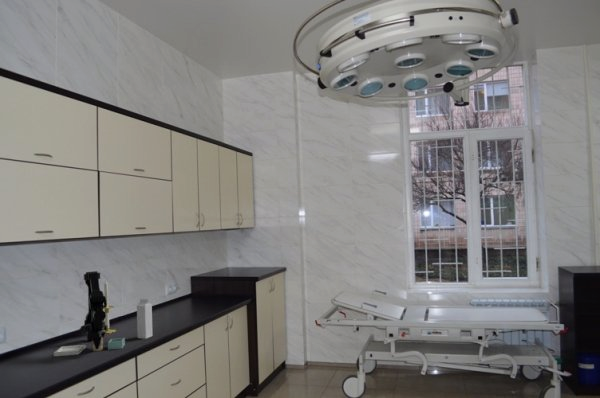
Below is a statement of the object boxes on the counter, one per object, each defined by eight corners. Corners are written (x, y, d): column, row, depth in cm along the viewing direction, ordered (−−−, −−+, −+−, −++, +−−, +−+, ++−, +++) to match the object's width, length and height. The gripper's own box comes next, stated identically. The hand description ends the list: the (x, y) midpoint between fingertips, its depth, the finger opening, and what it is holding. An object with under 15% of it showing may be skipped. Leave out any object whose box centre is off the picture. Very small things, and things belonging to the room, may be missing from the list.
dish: (61, 350, 246) (61, 346, 246) (85, 348, 248) (85, 344, 248) (53, 356, 234) (53, 352, 234) (78, 354, 236) (78, 350, 236)
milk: (144, 335, 271) (143, 298, 272) (152, 336, 269) (151, 298, 270) (137, 338, 265) (136, 300, 266) (145, 338, 263) (144, 300, 264)
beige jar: (95, 349, 245) (94, 337, 245) (103, 348, 246) (102, 337, 246) (93, 351, 241) (92, 339, 241) (101, 350, 242) (100, 338, 242)
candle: (119, 330, 287) (118, 278, 288) (107, 334, 277) (105, 280, 279) (107, 329, 290) (106, 278, 292) (94, 333, 281) (93, 280, 283)
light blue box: (111, 346, 250) (110, 339, 250) (124, 344, 251) (124, 337, 251) (108, 349, 243) (107, 342, 243) (122, 348, 244) (122, 341, 244)
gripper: (86, 316, 252) (87, 344, 251) (76, 323, 234) (76, 354, 233) (107, 314, 254) (108, 342, 253) (99, 321, 236) (99, 352, 235)
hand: (98, 347), depth 244 cm, fingers closed on beige jar, 4 cm apart
